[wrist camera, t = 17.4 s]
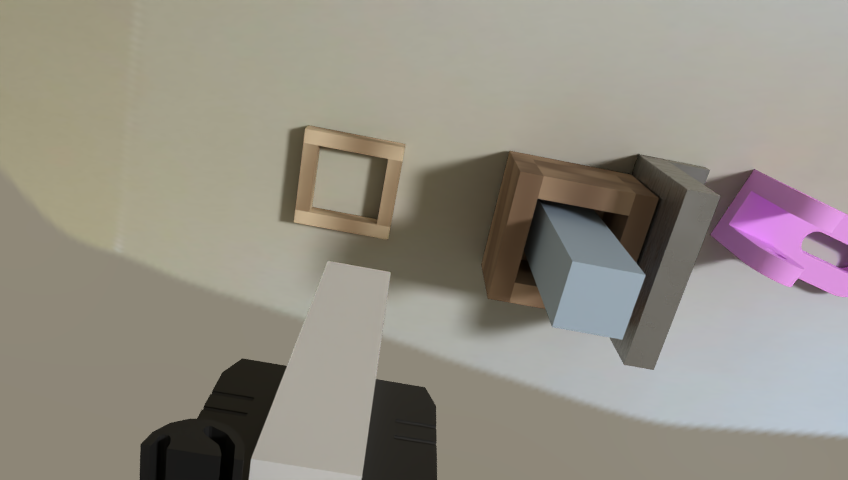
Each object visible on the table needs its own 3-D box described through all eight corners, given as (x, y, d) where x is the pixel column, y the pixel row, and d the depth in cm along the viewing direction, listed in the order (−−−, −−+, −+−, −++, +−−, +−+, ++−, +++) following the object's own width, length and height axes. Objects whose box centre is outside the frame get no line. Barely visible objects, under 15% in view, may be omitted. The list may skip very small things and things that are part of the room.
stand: (297, 217, 46) (293, 222, 44) (308, 125, 43) (305, 128, 42) (388, 234, 46) (387, 239, 45) (405, 144, 43) (404, 147, 42)
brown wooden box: (481, 264, 46) (487, 298, 41) (509, 150, 43) (520, 171, 38) (594, 285, 47) (615, 321, 42) (631, 174, 44) (658, 198, 38)
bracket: (709, 234, 46) (755, 271, 39) (753, 168, 44) (808, 196, 37) (849, 299, 48) (915, 345, 41) (897, 239, 46) (974, 277, 39)
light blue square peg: (522, 246, 45) (552, 326, 33) (536, 194, 43) (572, 261, 32) (575, 256, 45) (622, 339, 34) (590, 205, 43) (645, 274, 32)
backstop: (590, 301, 48) (624, 364, 39) (638, 154, 43) (687, 189, 35) (651, 312, 48) (697, 377, 40) (705, 167, 44) (769, 205, 35)
